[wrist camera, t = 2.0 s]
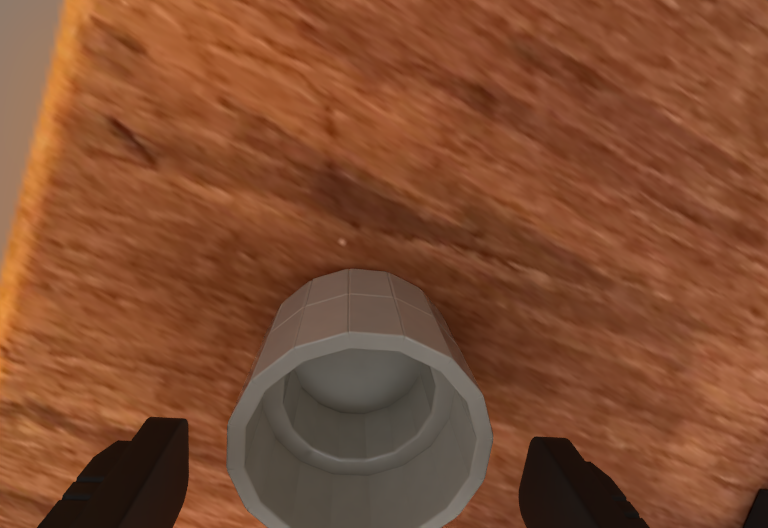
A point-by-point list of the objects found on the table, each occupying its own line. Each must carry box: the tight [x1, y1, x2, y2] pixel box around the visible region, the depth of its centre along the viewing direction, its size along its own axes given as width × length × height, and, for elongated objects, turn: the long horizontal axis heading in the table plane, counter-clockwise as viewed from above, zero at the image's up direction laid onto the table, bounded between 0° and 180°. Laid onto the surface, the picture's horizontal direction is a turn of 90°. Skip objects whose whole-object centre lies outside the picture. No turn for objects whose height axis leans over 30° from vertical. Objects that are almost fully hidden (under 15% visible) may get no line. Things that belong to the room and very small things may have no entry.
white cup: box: [226, 269, 493, 528], centre depth 12 cm, size 6×6×5 cm
